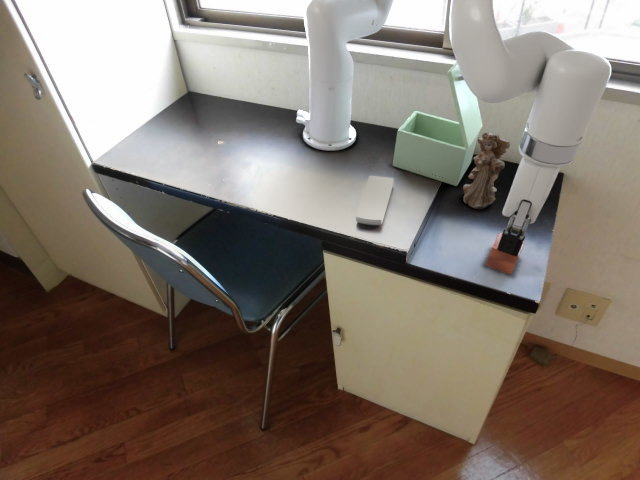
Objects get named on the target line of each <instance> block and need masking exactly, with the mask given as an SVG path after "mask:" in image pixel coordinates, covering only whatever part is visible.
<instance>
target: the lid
mask: <svg viewBox="0 0 640 480" xmlns="http://www.w3.org/2000/svg"><path fill="white" fill-rule="evenodd" d="M446 73H447V78H448V82H449V86H450V91H451V94H452V100H453V103H454V108H455V112H456V117H457V120H458V121H457V122H459V125H460V130H461V134H462V138H463V143H464V147H465V148H469V147H470V145H471V144H472V142H473V140H474V139H475V137H476V136H477V134H478V132H479V133H480V131H481V130H482V128H483V126H484V125H483V121H482V116H481V111H480V107H479V101H478V98H477V97H476V96H475V95H474V94H473V93H472V92H471V90H470V89H469V87H468V86H467V84H466V82H465V80H464V78H463V76H462V73H461V71H460V68H459V66H458V63H457V61H456V62H455V63H454V64H453V65H452V66H451V67H450V69H448V70H447V72H446Z"/></svg>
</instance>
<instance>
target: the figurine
mask: <svg viewBox="0 0 640 480" xmlns="http://www.w3.org/2000/svg"><path fill="white" fill-rule="evenodd" d="M477 143H478V144H479V148H480V153H479V154H478V155H476V156H474V157H472V160H474V164H475V167H474V168H473V169H472V170H471V172H470V173H469V175H468V176H467V177H468V178H469V179H470V180H473V182H472V183H470V184H468V183H465V184H464V185H463V186H462V190H463V193H464V196H463V199H462V201H463V202H464V204H468V206H469V207H471V208H473V209H475V210H484V209H486V208H487V207H488V206H490V205H491V204H493V203H494V201H495V200H496V197H495V195H496V194H495V193H497V188H496V187H495V186H494V185H495V184H494V183H495V181H496V180H497V179H498V177H499V174H500V172H501V171H502V170H503V169H505V162H504V161H503V160H501V158H502V156H503V155H505V154H506V153H507V150H508V149H510V147H511V142H510V141H509V140H506V139H503V138H501V137H500V134H499V133H496V134H494V133H490V132H486V131H485V132H483V133H482V134H481V137H480V136H478V138H477Z"/></svg>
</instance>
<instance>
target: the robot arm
mask: <svg viewBox="0 0 640 480" xmlns="http://www.w3.org/2000/svg"><path fill="white" fill-rule="evenodd" d="M393 3H394V0H309V1H308V3H307V4H306V7H305V9H304V12H303V23H304V28H305V34H306V39H307V47H308V74H309V75H308V76H309V79H308V81H309V88H308V89H309V90H308V91H309V92H308V95H309V99H308V100H309V103H308V104H309V107H308V109H309V111H308V112H307V111H304V110H302V109H298V110H297V112H296V119H295V123H298V124H300V125H303V126H305V127H304V128H303V130H302V139H303V141H304V142H305V143H306V144H307V145H308V146H310V147H312V148H314V149H316V150H321V151H329V152H331V151H332V152H333V151H340V150H344V149H346V148H349V147H350V146H352V145H353V144H354V143H355V142H356V138H357V132H356V129H355V128H354V126H352V124H351V121H352V120H351V117H352V104H353V89H354V87H353V86H354V73H355V72H354V70H355V64H354V59H353V56H352V55H351V53H350V51H349V50H348V47H347V43H349V42H352V41H355V40H357V39H361V38H365V37H369V36H372V35H374V34H376V33H378V32H379V31H380V30H381V29H382V28H383V27H384V26H385V23H386V22H387V19H388V17H389V14H390V12H391V9H392V5H393ZM448 23H449V26H448V29H449V30H448V31H449V33H448V34H449V40H450V41H449V42H450V45H451V50H452V52H453V55H454V58H455V60H456V62H457V63H458V66H459V68H460V71H461V73H462V76H463V78H464V80H465V82H466V84H467V86H468V87H469V89H470V90H471V92H472V93H473V94H474V95H475V96H476V97H477V100H480V101H482V102H484V103H486V104H487V103H489V104H498V103H503V102H505V101H508V100H511V99H514V98H516V97H518V96H521V95H523V94H525V93H533V92H536V94H535V97H534V100H533V102H532V106H531V110H530V112H529V115H528V117H527V120H526V123H525V127H524V130H523V132H522V136H521V139H520V142H519V145H518V152H519V154H520V155H521V157H522V158H521V159H520V162H519V164H518V166H517V170H516V173H515V175H514V178H513V181H512V184H511V185H510V186H511V187H510V189H509V192H508V195H507V198H506V201H505V203H504V205H503V208H502V211H501V214H502V216H503V217H507V218H509V220H508V222H507V225H506V228H505V229H503V231H502V237H501V239H500V242H499V245H498V248H497V250H498V251H501V252H504V253H507V254H510V255H513V256H518V254H519V251H520V249H521V246H522V244H523V241H524V242H525V239H526V231H527V229H528V226H529V225H532V224H534V223H535V222H536V220H537V218H538V216H539V214H540V213H541V211H542V209H543V206H544V204H545V203H546V201H547V199H548V197H549V195H550V194H551V190H552V188H553V187H554V184H555V181H556V179H557V178H558V174H559V173H560V170H561V168H565V167H568V166H570V165H572V164H573V162H574V161H575V159H576V156H577V153H578V151H579V150H580V147H581V145H582V142H583V140H584V138H585V136H586V133H587V131H588V129H589V127H590V124H591V123H592V120H593V118H594V116H595V113H596V110H597V108H598V106H599V105H600V101H601V100H602V97H603V95H604V92H605V90H606V88H607V86H608V84H609V81H610V78H611V75H612V65H611V63H610V62H609V60H608V59H607V58H605V57H604V56H602V55H600V54H597V53H595V52H593V51H589V50H584V49H578V48H576V47H574V46H572V45H571V44H569V43H568V42H566V41H564V40H563V39H561V37H558V36H556V35H555V34H552V33H550V32H548V31H544V30H535V31H529V32H527V33H523V34H520V35H517V36H516V35H515V36H513V37H510V38H507V39H503V37H502V35H501V32H500V29H499V26H498V24H497V19H496V16H495V10H494V0H451V1H450V9H449V21H448Z"/></svg>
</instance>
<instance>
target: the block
mask: <svg viewBox="0 0 640 480" xmlns="http://www.w3.org/2000/svg"><path fill="white" fill-rule="evenodd" d="M502 234H503V232H498V233H497V235H496V238H495V240H494V243H493V245H492V246H491V249H490V253H489V255H488V258H487V260H486V263H485V267H488V268H492V269H494V270H497V271H499V272H501V273H504V274H508V275H510V276H511V275H513V272H514V270H515V267H516V264H517V262H518V260H519V258H520V255H521V253H522V250H523V247H524V244H525V240H524V241H523V244H522V246H521V249H520V251H519V254H518V256H513V255H510V254H507V253H504V252H501V251H498V250H497V248H498V245H499V242H500V239H501V237H502Z"/></svg>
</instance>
